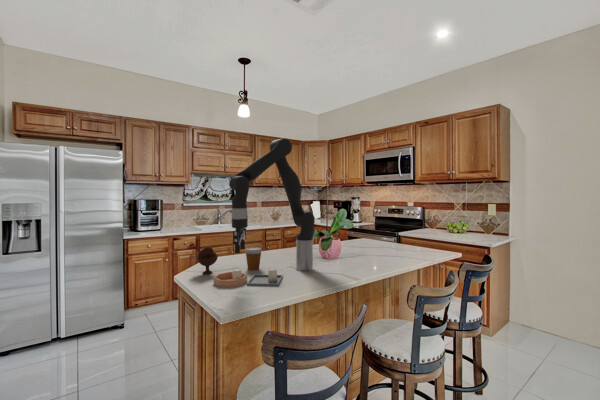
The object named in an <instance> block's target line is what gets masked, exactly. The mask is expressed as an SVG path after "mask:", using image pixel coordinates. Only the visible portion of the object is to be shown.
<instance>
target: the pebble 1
mask: <svg viewBox="0 0 600 400" xmlns="http://www.w3.org/2000/svg"><path fill="white" fill-rule="evenodd" d="M231 272H232V280H235V279H240V278H242V273H243V271H242V269H233V270H232V271H231Z"/></svg>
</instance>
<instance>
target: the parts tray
mask: <svg viewBox="0 0 600 400" xmlns="http://www.w3.org/2000/svg"><path fill="white" fill-rule="evenodd" d="M283 277H284V275H283V274H277V282H273V283H272V282H268V274H260V273H259V274H258V273H257V274H253V275H252V276H251V277H250V279H249V280H247V281H246V282H245V284H246V286H253V287H255V286H258V287H279V286H280V283H281V282H282V279H283Z"/></svg>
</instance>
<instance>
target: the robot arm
mask: <svg viewBox="0 0 600 400" xmlns="http://www.w3.org/2000/svg"><path fill="white" fill-rule="evenodd" d="M292 150H293V145H292V142H291V141H290V140H289V139H288V138H279V139H275V140H272V141H271V142H270V144H269V151H268V152H267V153H266V154H264V155H263V156H261V157H259V158H257V159H256V160H254V161H253V162H252V163H250V164H249V165H248V166H247V167H246V168H244V169H242V170H241V171H240V172H238V173H237V174H235V175H234V176H233V177H231V178H230V180H229V183H228V184H229V188H230V189H231V190H232V191H234V192H235V194H234V196H233V197H232V198H231V228H233V229H235V231H234V230H233V232H232V245H234V252H235V254H240V253H241V250H246V240H247V228H248V225H249V224H248V221H249V218H248V217H249V216H248V208H247V207H248V202H247V199H248V196H249V190H250V182H252V181H254V180H256V179H257V178H259V177H260V175H262V174H263V173H264V172H265V171H267V170H268V169H269V168H270V167H271V166H273V165H274V164H275V166H276V169H277V170H278V174H279V177H280V179H281V182H282V186H283V188H284V191H285V193H286V196H287V200H288V204H289V207H290V211H291V215H292V221H293V222H294V225H295V226H297V227H299V228H300V232H299V233H297V234H296V238H295V239H296V244H295V245H296V250H295V251H296V261H295V262H296V265H295V266H296V267H295V268H296V270H297V272H311V271H313V265H314V264H313V261H314V259H313V256H314V254H313V245H314V244H313V242H314V239H313V237H314V235H315V234H314V233H315V216H314V214H313V213H312V211H306V210H304V208H303V206H302V202H301V201H302V200H301V198H302V184H301V182H300V179H299V177H298V175H297V173H296V171H294V169H293V168H292V167H291V165H290V164H289V163H288V159H287V157H286V156H289V155H290V154H291V152H292Z"/></svg>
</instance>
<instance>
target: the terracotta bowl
mask: <svg viewBox="0 0 600 400" xmlns="http://www.w3.org/2000/svg"><path fill="white" fill-rule="evenodd" d="M247 282H248V274H247V273H244V272H242V278H240V279H235V280H232V271H228V272H227V271H226V272H221V273H217V274H216V275H215V276H214V277H213V285H216V286H217V287H221V288H234V287H238V286H239V287H240V286H244V284H246V283H247Z"/></svg>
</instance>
